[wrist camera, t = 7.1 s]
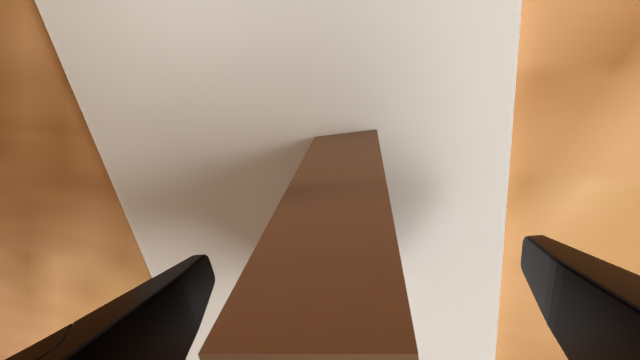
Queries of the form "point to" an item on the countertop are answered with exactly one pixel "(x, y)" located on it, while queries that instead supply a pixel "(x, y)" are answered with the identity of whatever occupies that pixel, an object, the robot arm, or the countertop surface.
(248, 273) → the walnut slab
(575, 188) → the countertop surface
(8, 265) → the countertop surface
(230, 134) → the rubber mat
